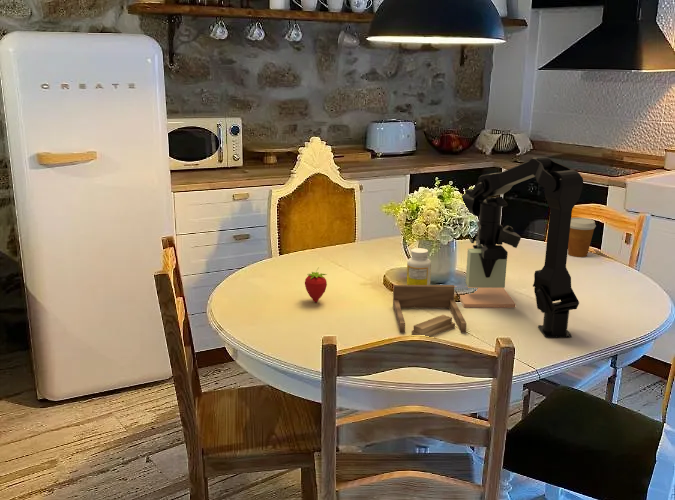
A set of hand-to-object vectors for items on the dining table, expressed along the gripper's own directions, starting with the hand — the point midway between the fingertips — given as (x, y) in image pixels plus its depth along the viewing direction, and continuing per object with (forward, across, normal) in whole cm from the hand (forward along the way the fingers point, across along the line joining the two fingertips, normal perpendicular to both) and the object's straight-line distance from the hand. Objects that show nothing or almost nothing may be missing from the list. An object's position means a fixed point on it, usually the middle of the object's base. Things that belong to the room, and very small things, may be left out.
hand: (485, 274), depth 187 cm
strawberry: (+7, -3, +47) cm, 48 cm away
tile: (+7, 0, 0) cm, 7 cm away
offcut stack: (+7, -23, +18) cm, 30 cm away
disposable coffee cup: (+7, +43, -42) cm, 61 cm away
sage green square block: (+3, 0, 0) cm, 3 cm away
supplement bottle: (+7, +4, +18) cm, 20 cm away
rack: (+7, -14, +18) cm, 24 cm away
